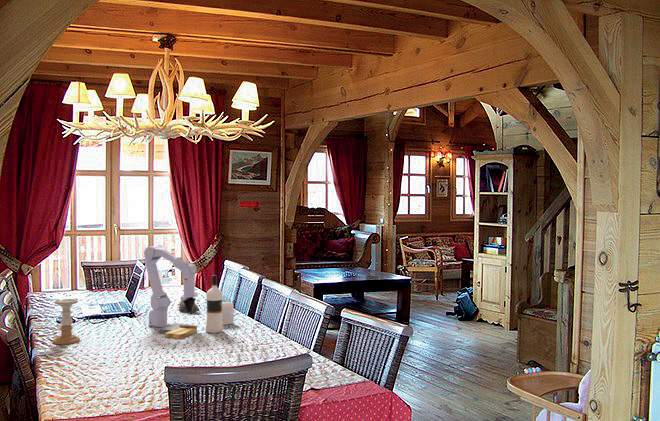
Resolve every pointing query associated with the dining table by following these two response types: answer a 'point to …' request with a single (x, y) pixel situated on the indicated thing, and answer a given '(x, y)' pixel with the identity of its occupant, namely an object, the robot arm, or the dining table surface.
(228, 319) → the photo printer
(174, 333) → the tan wooden flat block
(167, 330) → the grey flat block
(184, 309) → the mineral rock
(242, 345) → the game piece set
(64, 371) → the dining table surface
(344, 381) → the dining table surface
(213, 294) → the vodka
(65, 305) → the candle holder
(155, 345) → the dining table surface
